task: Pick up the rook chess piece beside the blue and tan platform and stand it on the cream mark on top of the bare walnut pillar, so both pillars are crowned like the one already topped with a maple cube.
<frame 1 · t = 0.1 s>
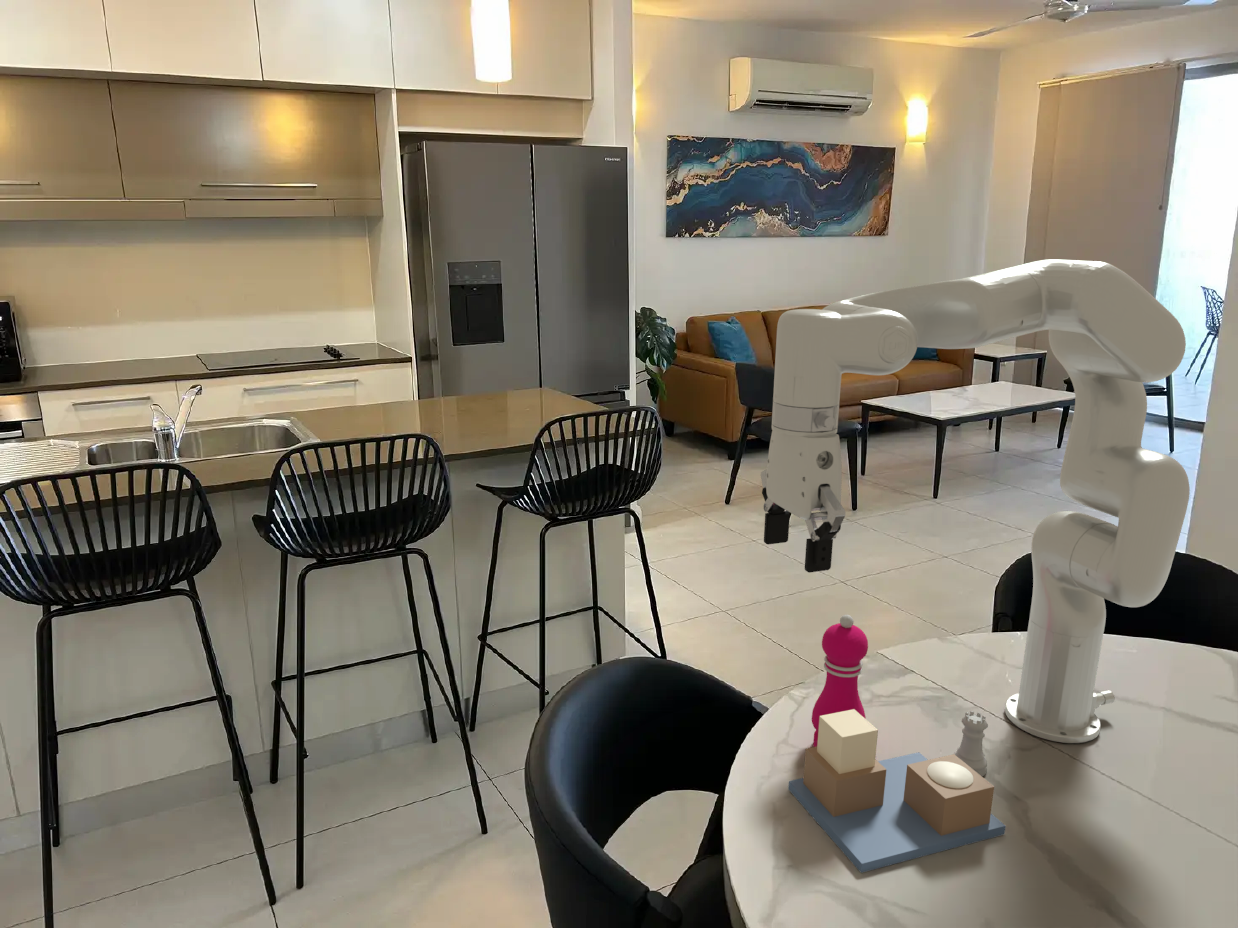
hand: (795, 555, 107), 31 cm above the table, tool pointing down, fingers open, 9 cm apart
rook chess piece: (968, 770, 117), on the table
blue and tan platform: (892, 810, 109), on the table
pepper mill: (836, 749, 122), on the table
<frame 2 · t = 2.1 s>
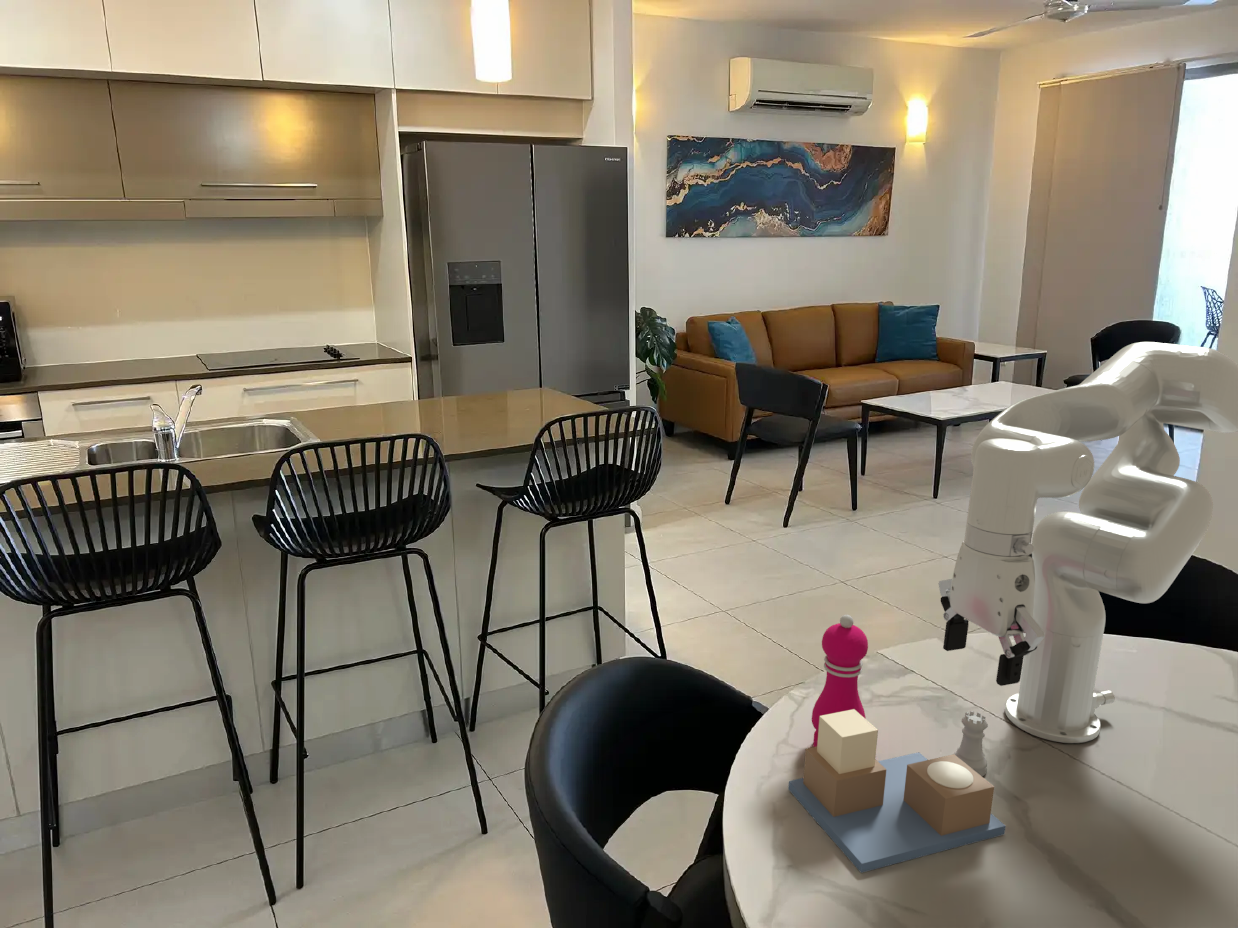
hand: (979, 665, 113), 15 cm above the table, tool pointing down, fingers open, 9 cm apart
nothing on the table moved.
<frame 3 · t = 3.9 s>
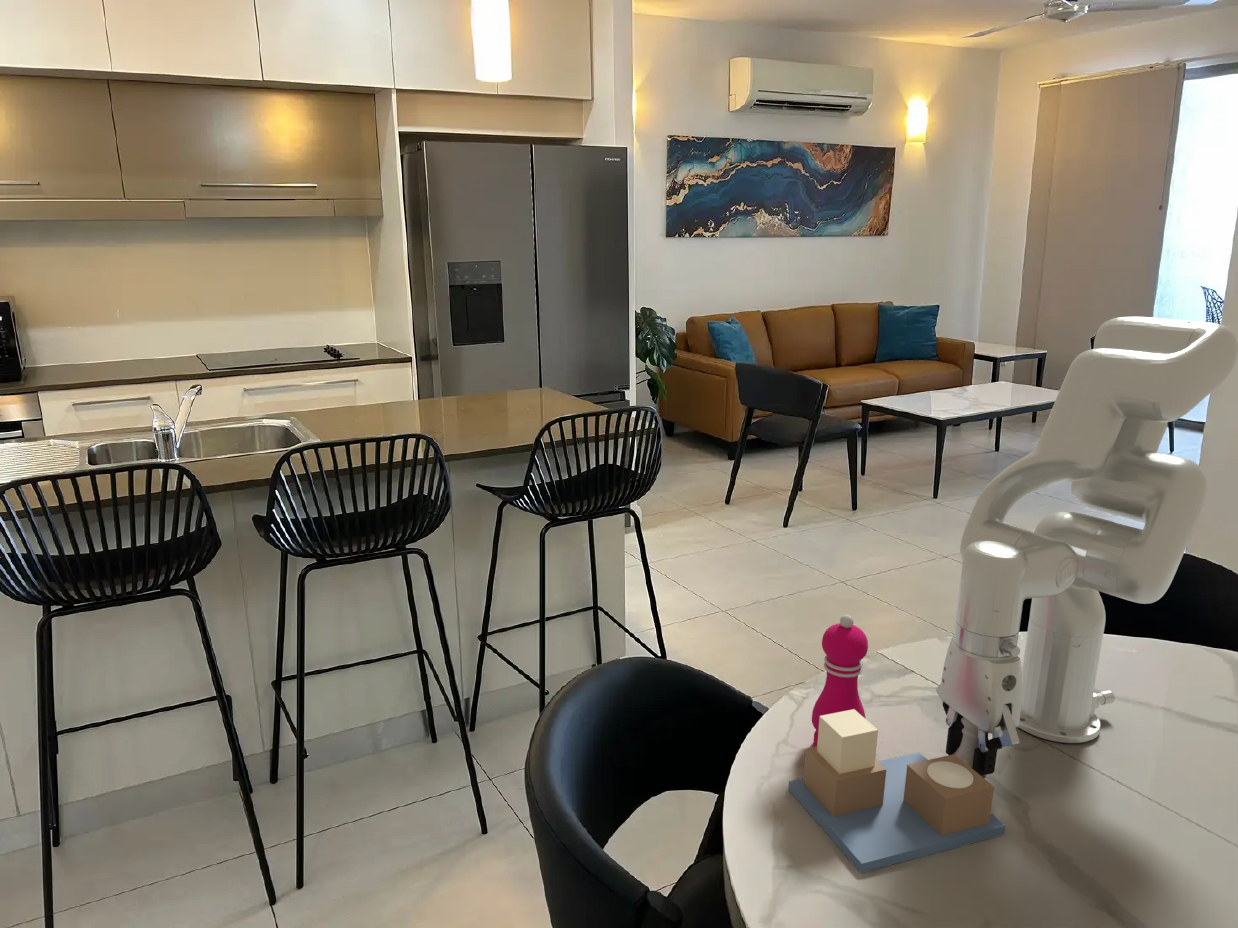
hand: (969, 761, 117), 1 cm above the table, tool pointing down, fingers closed on rook chess piece, 4 cm apart
rook chess piece: (968, 770, 117), on the table, touching gripper
everything else where it was.
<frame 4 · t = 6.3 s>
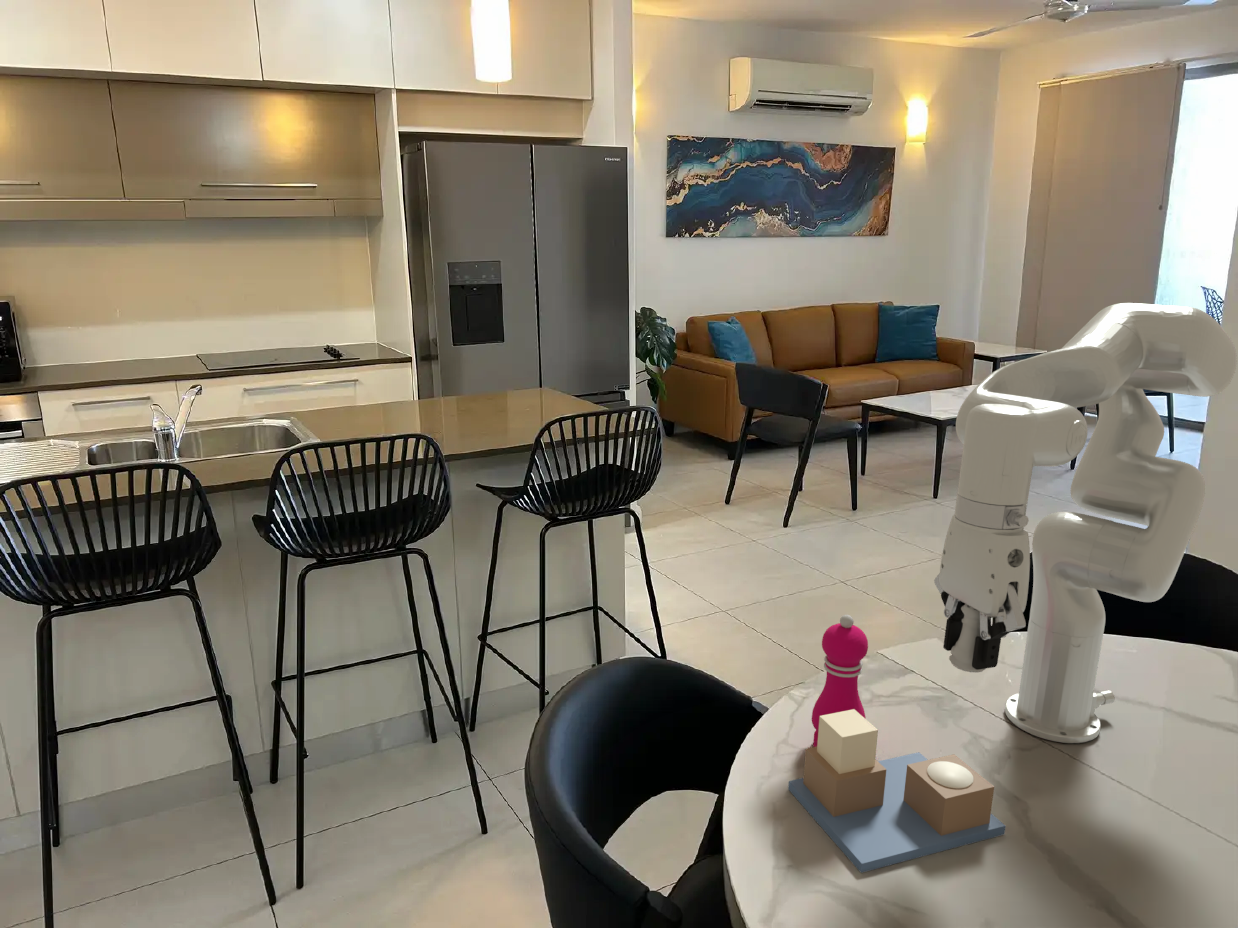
hand: (969, 656, 106), 20 cm above the table, tool pointing down, fingers closed on rook chess piece, 4 cm apart
rook chess piece: (967, 666, 106), point 19 cm above the table, touching gripper
everything else where it was.
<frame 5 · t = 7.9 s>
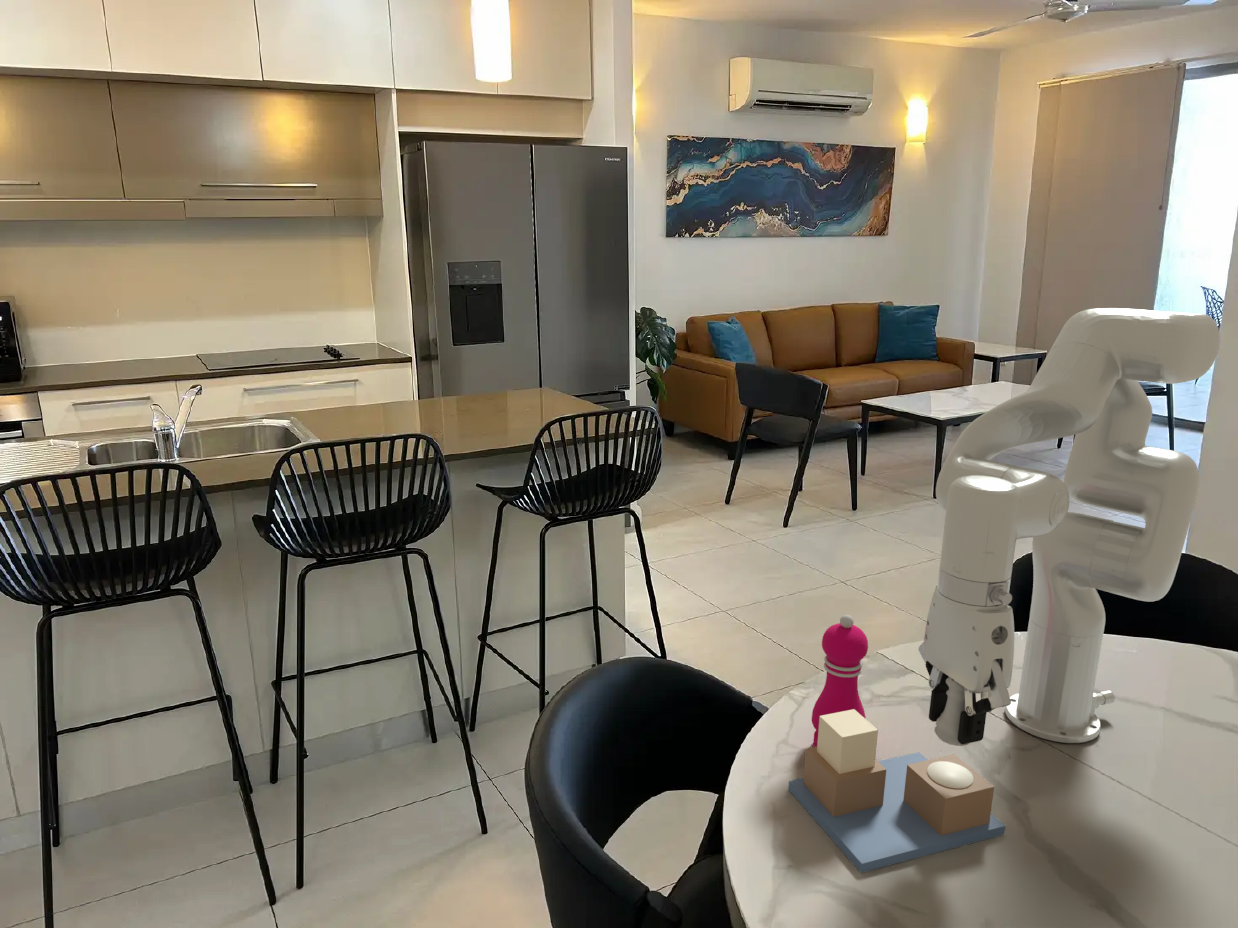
hand: (955, 728, 104), 13 cm above the table, tool pointing down, fingers closed on rook chess piece, 4 cm apart
rook chess piece: (953, 738, 104), point 11 cm above the table, touching gripper
everything else where it was.
when the fingers open (9 cm above the table, at t = 8.9 s): rook chess piece drops 1 cm, resting on blue and tan platform.
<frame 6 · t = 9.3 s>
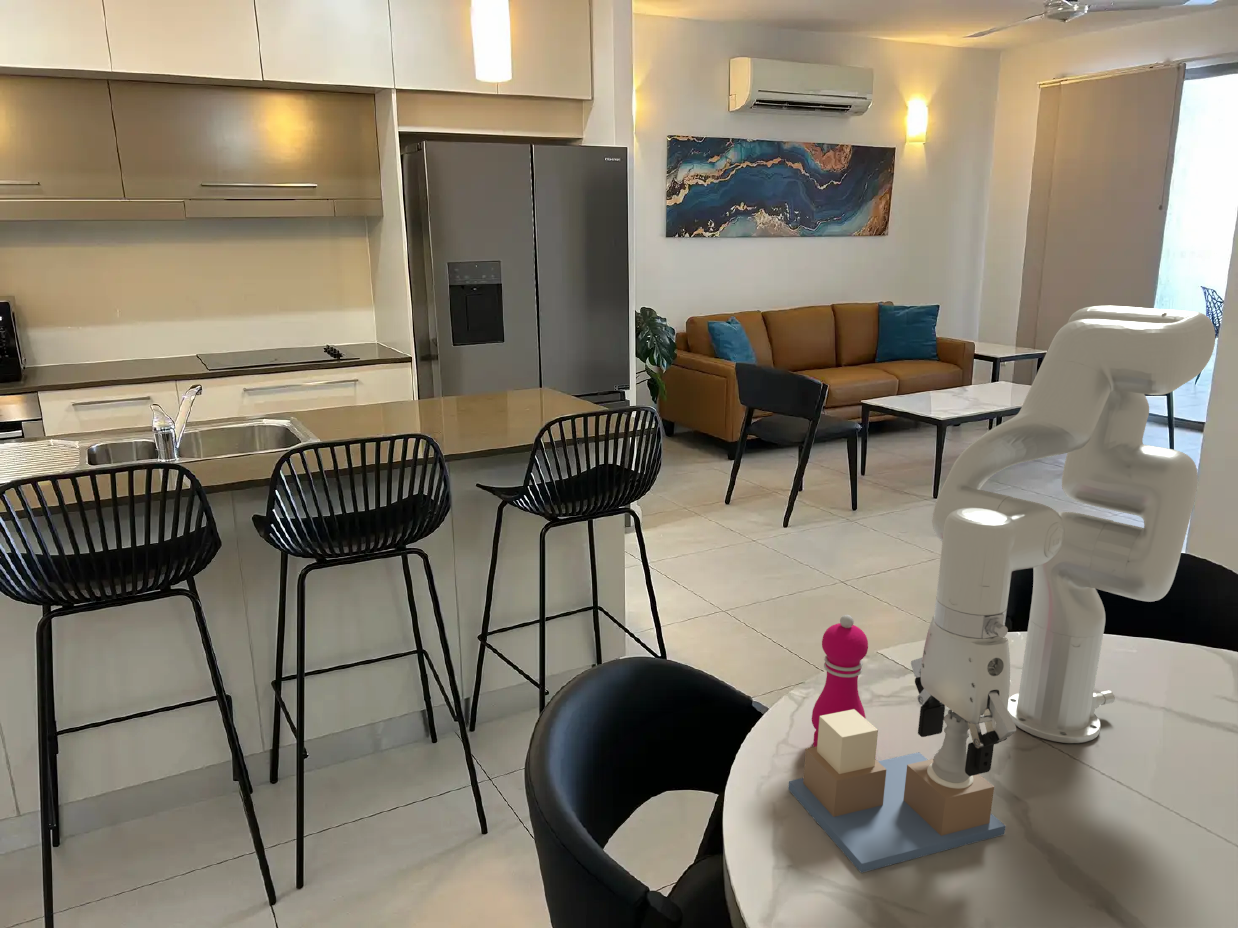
hand: (952, 751, 105), 9 cm above the table, tool pointing down, fingers open, 7 cm apart
rook chess piece: (950, 774, 106), point 6 cm above the table, touching blue and tan platform
everything else where it was.
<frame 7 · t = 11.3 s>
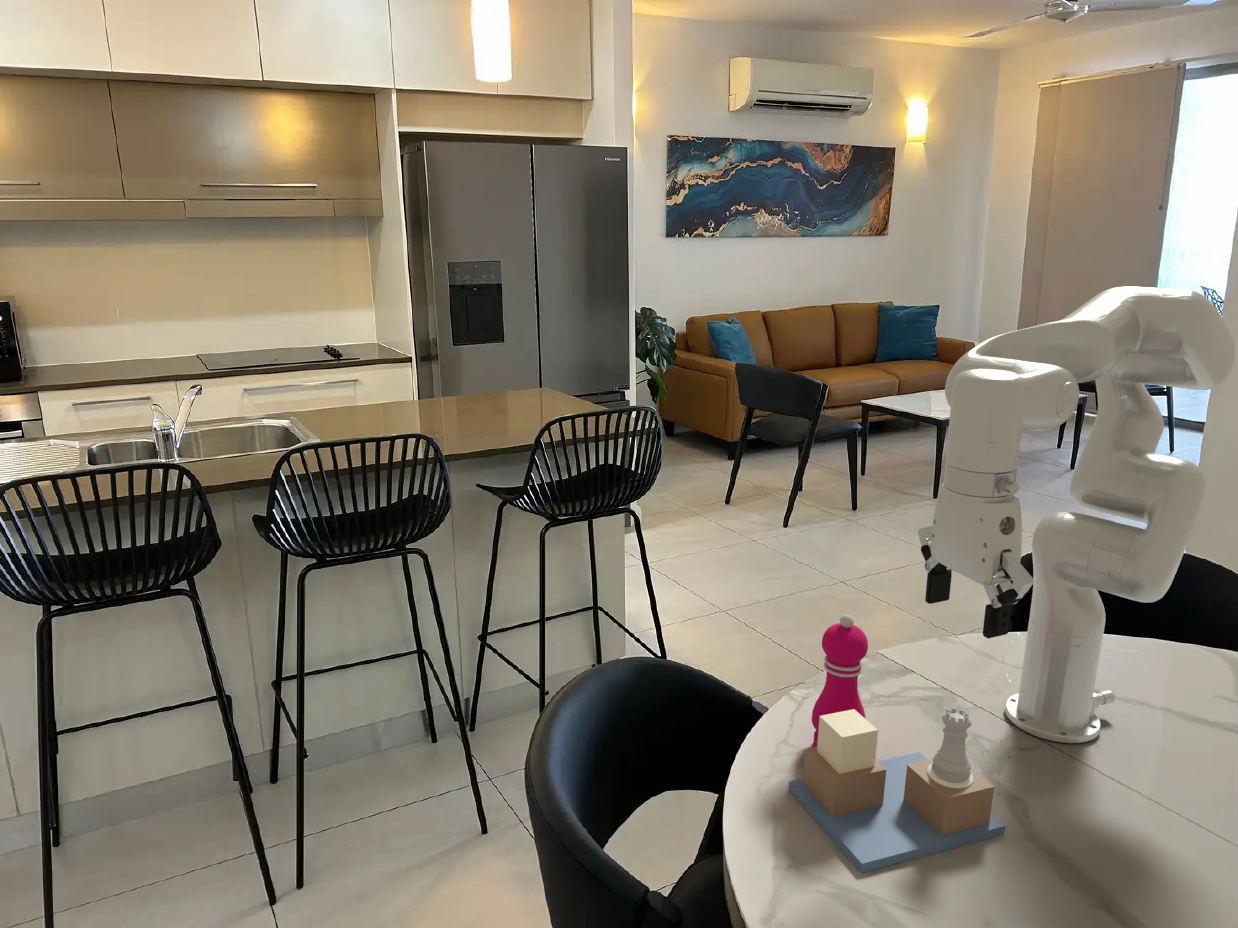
hand: (965, 617, 104), 25 cm above the table, tool pointing down, fingers open, 9 cm apart
nothing on the table moved.
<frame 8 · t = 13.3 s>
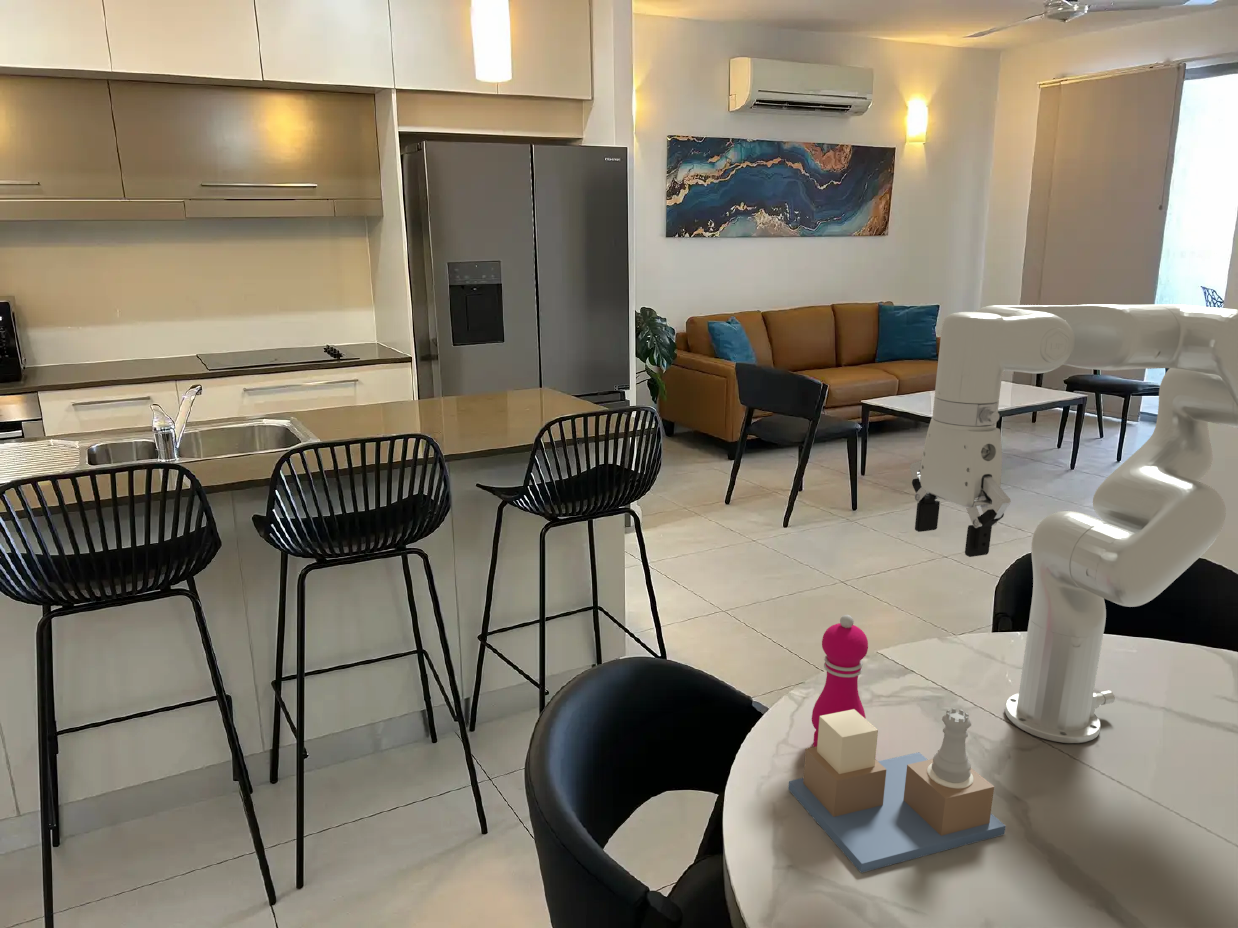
hand: (950, 542, 114), 30 cm above the table, tool pointing down, fingers open, 9 cm apart
nothing on the table moved.
at the end: rook chess piece 0.1 cm from the target spot on the blue and tan platform, point 6.2 cm above the blue and tan platform's base; rook chess piece tilted 0°; the gripper is holding nothing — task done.
